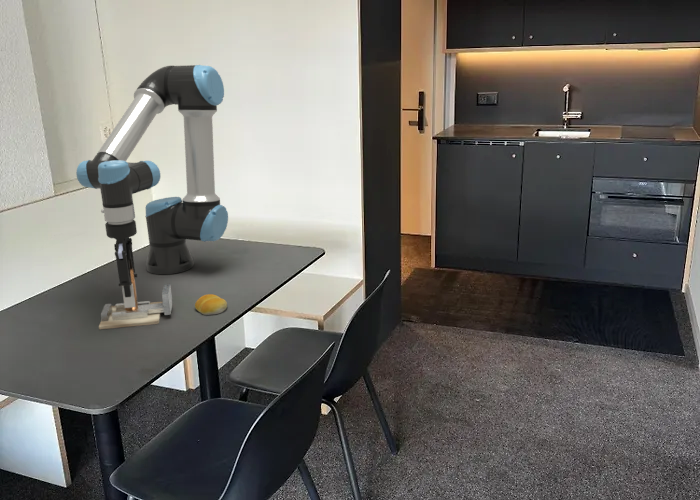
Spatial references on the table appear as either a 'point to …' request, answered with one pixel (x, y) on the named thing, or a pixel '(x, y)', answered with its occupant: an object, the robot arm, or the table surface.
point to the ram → (153, 308)
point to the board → (130, 320)
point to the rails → (123, 315)
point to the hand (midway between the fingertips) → (131, 304)
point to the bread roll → (210, 304)
